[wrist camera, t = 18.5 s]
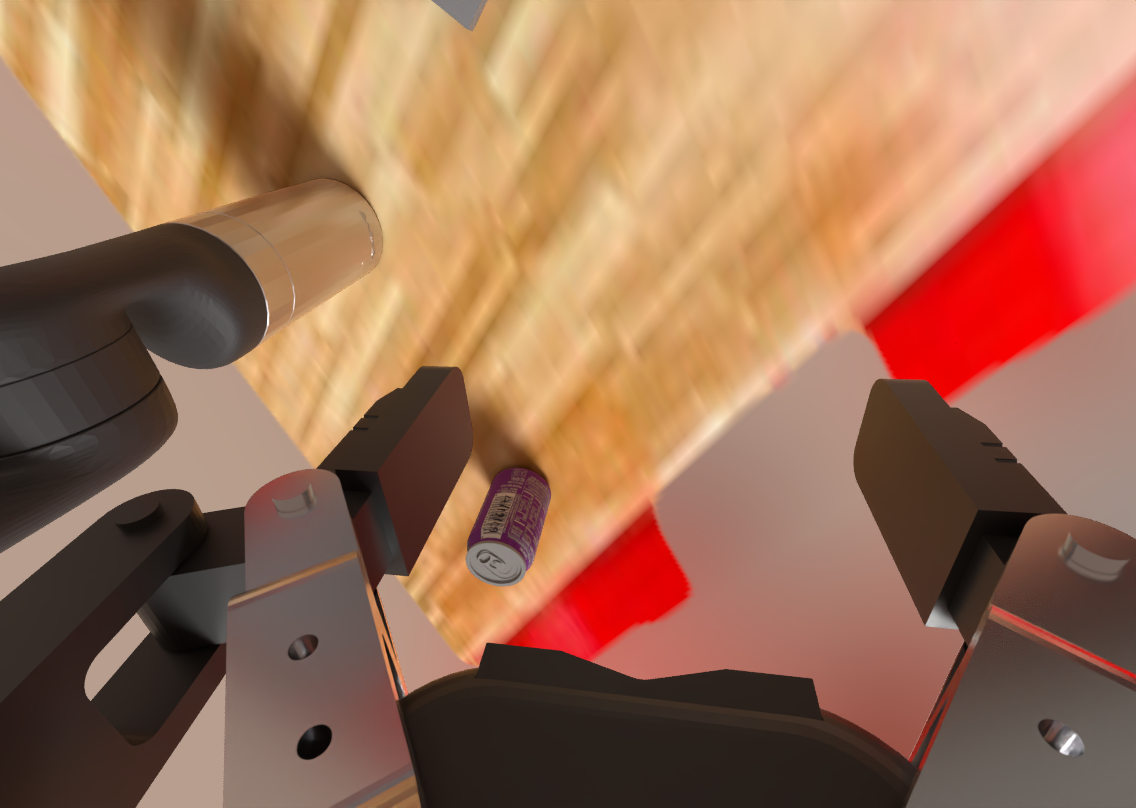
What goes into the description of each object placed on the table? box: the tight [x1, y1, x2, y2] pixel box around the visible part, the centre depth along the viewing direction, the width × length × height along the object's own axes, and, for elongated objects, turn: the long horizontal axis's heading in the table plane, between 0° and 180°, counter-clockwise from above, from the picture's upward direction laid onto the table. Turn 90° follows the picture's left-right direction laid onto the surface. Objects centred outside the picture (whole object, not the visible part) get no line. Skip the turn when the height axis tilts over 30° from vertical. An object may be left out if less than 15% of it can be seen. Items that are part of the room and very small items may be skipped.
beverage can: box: [466, 468, 551, 586], centre depth 58 cm, size 7×7×12 cm
